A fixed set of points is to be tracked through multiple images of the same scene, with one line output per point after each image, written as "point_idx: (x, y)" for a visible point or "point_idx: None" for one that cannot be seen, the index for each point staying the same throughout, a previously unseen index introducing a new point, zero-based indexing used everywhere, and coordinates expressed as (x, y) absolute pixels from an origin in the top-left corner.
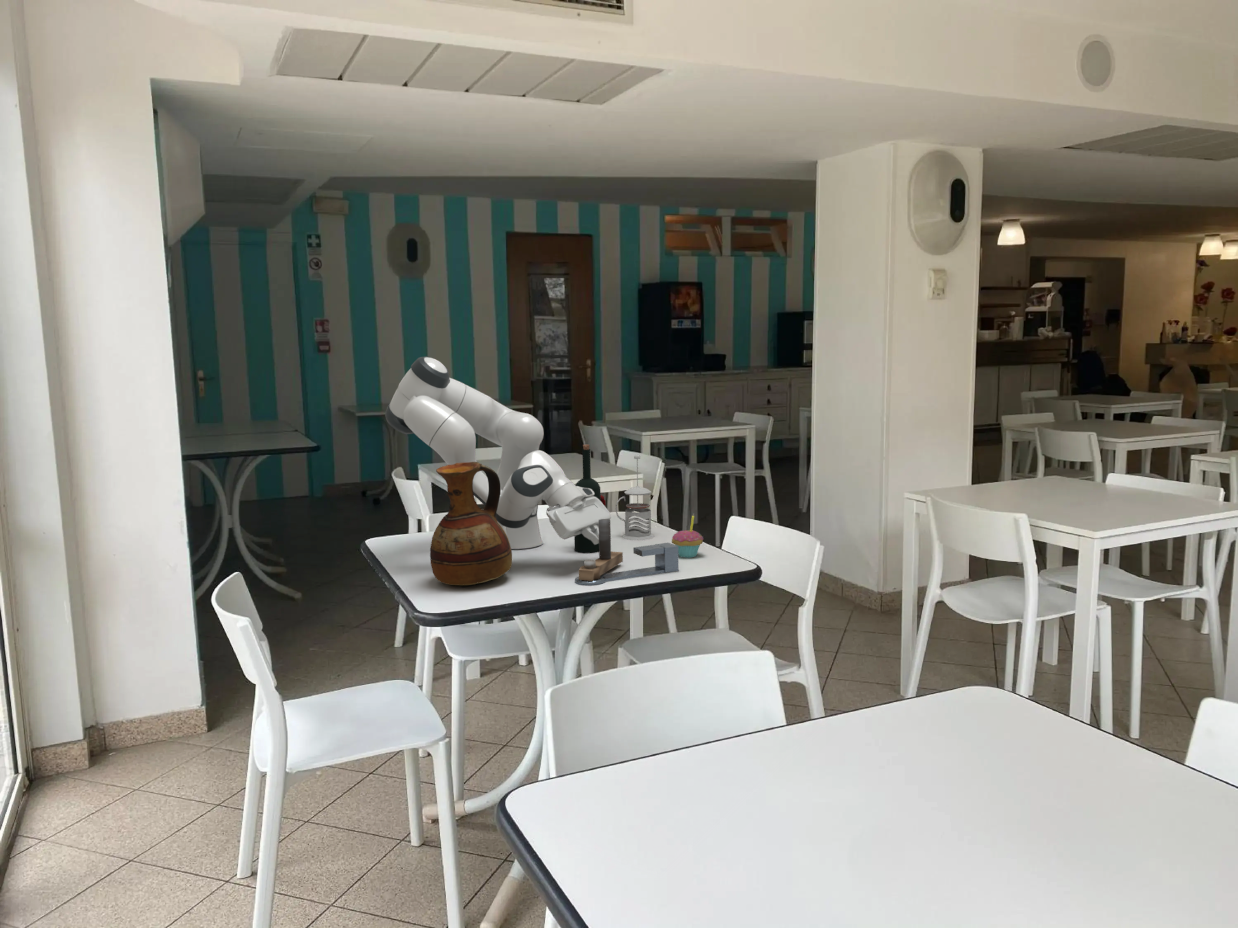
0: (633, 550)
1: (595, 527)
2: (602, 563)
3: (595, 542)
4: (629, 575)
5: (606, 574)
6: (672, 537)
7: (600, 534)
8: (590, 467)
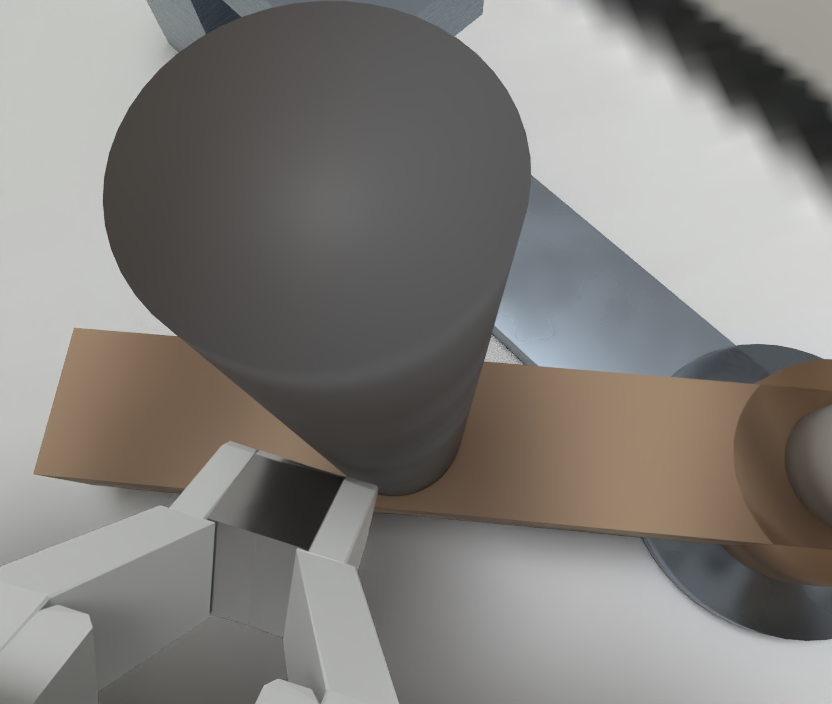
0: None
1: (46, 633)
2: (626, 389)
3: (362, 549)
4: (555, 198)
5: None
6: None
7: (472, 389)
8: None
